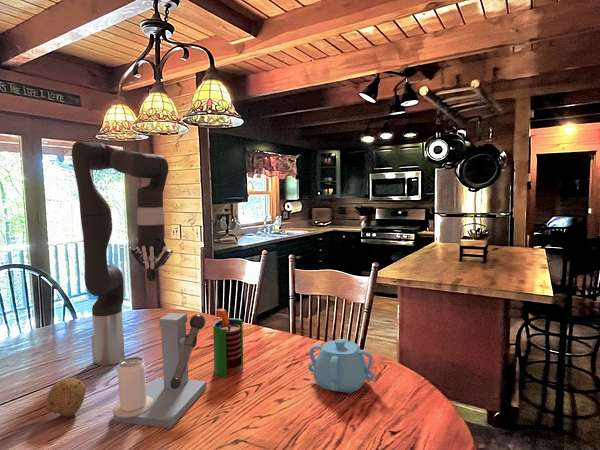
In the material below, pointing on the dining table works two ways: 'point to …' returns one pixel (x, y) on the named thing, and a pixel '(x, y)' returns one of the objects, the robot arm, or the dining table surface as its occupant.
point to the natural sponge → (66, 397)
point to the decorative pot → (340, 366)
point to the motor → (227, 345)
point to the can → (132, 384)
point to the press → (166, 382)
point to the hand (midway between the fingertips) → (152, 280)
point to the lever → (187, 349)
